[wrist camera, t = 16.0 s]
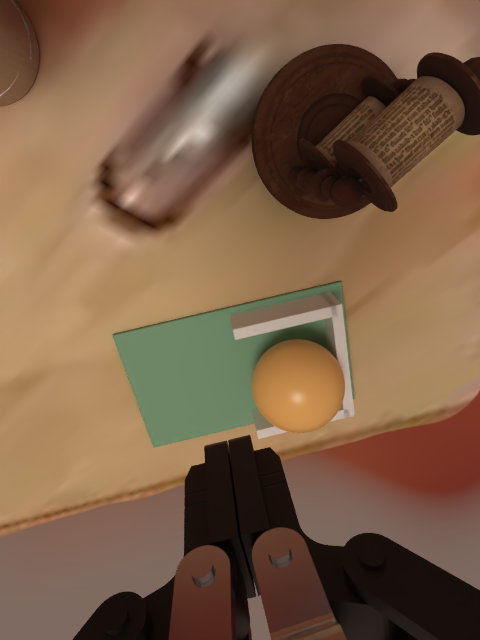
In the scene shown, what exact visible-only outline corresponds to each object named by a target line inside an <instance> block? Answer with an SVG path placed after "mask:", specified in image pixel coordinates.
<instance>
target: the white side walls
mask: <svg viewBox="0 0 480 640" xmlns="http://www.w3.org/2000/svg"><path fill="white" fill-rule="evenodd" d="M229 316H230V320H231V324H232V329H233V333H234V337H235V340H237V339H242V338H246V337H250V336H254V335H259V334H263V333H267V332H271V331H275V330H280V329H284V328H288V327H292V326H297V325H301V324H305V323H309V322H314V321H318V320H322V319H323V322H324V329H325V337H326V344H327V350H328V351H329V352H330V353H331V354H332V355H333V356H334V357H335V358H336V360H337V361H338V363H339V365H340V367H341V369H342V372H343V375H344V380H345V395H344V399H343V402H342V405H341V407H340V409H339V411H338V412H337V414H336V415H335V416H334V418H333V419H332V420H331V421H334V420H338V419H343V418H347V417H351V416H355V414H354V406H353V397H352V388H351V379H350V370H349V361H348V352H347V343H346V334H345V325H344V317H343V308H342V303H341V302H340V301H339V300H338V299H337V298H336V297H335V296H334V295H333V294H332V293H331V292H325V293H321V294H317V295H313V296H308V297H304V298H300V299H296V300H291V301H287V302H283V303H279V304H274V305H270V306H266V307H262V308H257V309H253V310H249V311H244V312H240V313H236V314H232V315H229ZM252 414H253V418H254V422H255V427H256V431H257V435H258V439H260V438H264V437H268V436H272V435H276V434H281V433H285V432H287V431H284V430H281V429H279V428H277V427H275V426H274V425H272V424H271V423H269V422H268V421H267V420H266V419H265V418H264V417H263V416H262V414H261V413H260V412H259V410H258V409H256V410H252Z"/></svg>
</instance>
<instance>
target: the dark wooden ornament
mask: <svg viewBox="0 0 480 640" xmlns="http://www.w3.org/2000/svg"><path fill="white" fill-rule="evenodd" d="M455 130H457V131H459V132H461V133H463V134H467V135H479V134H480V57H476V58H471V59H469V60H468V61H466V62H464V63H462V62H461V61H459V60H458V59H456V58H454V57H452V56H449V55H446V54H443V53H429V54H427V55H425V56H424V57H423V58H422V59H421V60H420V62H419V64H418V67H417V79H410V80H407V79H399V80H398V79H397V78H396V76H395V75H394V73H393V72H392V71H391V69H390V68H389V67H388V66H387V65H386V64H385V63H384V62H383V61H382V60H381V59H379V58H378V57H377V56H375V55H374V54H372V53H370V52H368V51H366V50H364V49H361V48H359V47H355V46H351V45H344V44H332V45H325V46H320V47H317V48H314V49H311V50H309V51H306V52H304V53H302V54H301V55H299V56H297V57H296V58H294V59H293V60H291V61H290V62H289V63H288V64H286V65H285V66H284V67H283V68H282V69H281V70H280V71H279V72H278V73H277V74H276V75H275V76H274V77H273V79H272V80H271V81H270V83H269V84H268V86H267V87H266V89H265V91H264V92H263V94H262V96H261V99H260V101H259V103H258V106H257V109H256V112H255V116H254V121H253V127H252V151H253V157H254V161H255V165H256V168H257V171H258V173H259V176H260V178H261V180H262V182H263V183H264V185H265V186H266V188H267V189H268V191H269V192H270V193H271V194H272V195H273V196H274V197H275V199H277V200H278V201H279V202H280V203H281V204H283V205H284V206H286V207H287V208H289V209H290V210H292V211H294V212H296V213H298V214H301V215H304V216H307V217H311V218H318V219H331V218H338V217H342V216H346V215H349V214H352V213H354V212H356V211H358V210H360V209H362V208H364V207H365V206H367V205H368V204H370V203H373V204H374V205H375V206H377V207H378V208H380V209H382V210H384V211H389V212H393V211H395V210H396V209H397V201H396V198H395V196H394V194H393V192H392V190H391V187H392V186H393V185H394V184H395V183H396V182H397V181H399V180H400V179H401V178H402V177H403V176H404V175H405V174H406V173H408V172H409V171H410V170H411V169H412V168H413V167H414V166H416V165H417V164H418V163H419V162H420V161H421V160H422V159H424V158H425V157H426V156H427V155H428V154H429V153H430V152H431V151H433V150H434V149H435V148H436V147H437V146H438V145H439V144H441V143H442V142H443V141H444V140H445V139H446V138H447V137H449V136H450V135H451V134H452V133H453V132H454V131H455Z"/></svg>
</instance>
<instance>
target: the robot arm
mask: <svg viewBox="0 0 480 640" xmlns="http://www.w3.org/2000/svg"><path fill="white" fill-rule="evenodd" d="M38 66H39V47H38V43H37V39H36V35H35V32H34V29H33V27H32V25H31V23H30V20H29V19H28V17H27V16H26V14H25V13H24V11H23V9H22V8H21V7H20V6H19V5H18V3H17V2H16V1H15V0H0V106H4V105H9V104H11V103H13V102H15V101H17V100H19V99H20V98H22V97H23V96H24V95H25V94H26V93H27V92H28V91H29V89H30V88H31V86H32V85H33V83H34V81H35V78H36V75H37V73H38ZM228 443H229V446H228ZM228 443H227V441H223V442H219V443H215V444H211V445H206V446H205V447H204V451H205V463H203V464H199V465H195V466H191V468H190V470H189V473H188V475H187V477H186V479H185V519H184V523H185V524H184V558H183V559H182V560H181V562H180V563H179V565H178V567H177V570H176V574H175V576H174V577H173V578H172V579H171V580H170V581H169V582H168V583H167V584H166V585H164V586H163V587H161V588H160V589H158V590H156V591H155V592H153V593H152V594H150V595H148V596H146V597H145V598H143V599H142V597H141V596H139V595H138V594H136V593H134V592H121V593H118V594H115V595H113V596H112V597H110V598H108V599H107V600H106V601H104V602H103V603H102V604H101V605H100V606H99V607H98V608H97V610H96V611H95V612H94V613H93V615H92V616H91V617H90V618H89V620H88V621H87V622H86V624H85V625H84V626H83V627H82V628H81V630H80V631H79V632H78V634H77V635H76V636H75V637H74V639H73V640H252V633H251V627H250V616H249V608H248V600H247V599H248V598H252V597H256V593H255V586H254V582H255V585H256V589H257V592H258V596H259V595H261V599H262V603H263V607H264V611H265V615H266V619H267V623H268V628H269V632H270V636H271V640H480V590H478V589H477V588H474V587H473V586H471V585H469V584H468V583H466V582H464V581H462V580H461V579H459V578H457V577H455V576H454V575H452V574H450V573H448V572H447V571H445V570H443V569H441V568H440V567H438V566H436V565H434V564H432V563H430V562H429V561H427V560H425V559H424V558H422V557H420V556H418V555H417V554H415V553H413V552H411V551H409V550H408V549H406V548H404V547H402V546H401V545H399V544H397V543H395V542H394V541H392V540H390V539H388V538H386V537H384V536H382V535H379V534H374V533H363V534H359V535H356V536H354V537H353V538H351V539H350V540H349V541H348V542H347V543H346V545H345V546H344V547H343V546H329V545H323V544H319V543H317V542H315V541H313V540H312V539H310V538H309V537H307V536H306V535H305V534H304V532H303V531H302V529H301V528H300V525H299V522H298V519H297V515H296V512H295V508H294V505H293V502H292V498H291V495H290V491H289V488H288V485H287V481H286V478H285V474H284V471H283V468H282V464H281V460H280V457H279V456H278V455H277V454H276V453H275V452H274V451H273V450H272V449H271V448H270V447H269V448H265V449H260V450H256V451H254V449H253V444H252V440H251V436H250V435H247V436H243V437H239V438H235V439H231V440H228ZM253 579H254V580H253Z"/></svg>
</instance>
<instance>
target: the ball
mask: <svg viewBox="0 0 480 640" xmlns="http://www.w3.org/2000/svg"><path fill="white" fill-rule="evenodd" d="M251 385H252V395H253V399H254V402H255V404H256V406H257V408H258V410H259V412H260V413H261V414H262V416H263V417H264V418H265V419H266V420H267V421H268V422H269V423H271V424H272V425H274V426H275V427H277V428H279V429H281V430H284V431H287V432H292V433H306V432H311V431H314V430H317V429H319V428H321V427H323V426H325V425H326V424H327V423H329V422H330V421H331V420H332V419H333V418H334V416H335V415H336V414H337V412H338V411H339V409H340V407H341V405H342V402H343V399H344V395H345V380H344V375H343V372H342V369H341V367H340V365H339V363H338V361H337V360H336V358H335V357H334V356H333V355H332V354H331V353H330V352H329V351H328V350H327V349H326V348H324V347H323V346H321V345H319V344H317V343H315V342H312V341H308V340H303V339H292V340H286V341H283V342H280V343H278V344H276V345H274V346H272V347H271V348H269V349H268V350H267V351H266V352H265V353H264V354H263V355H262V356H261V358H260V359H259V361H258V362H257V364H256V366H255V369H254V371H253V376H252V383H251Z"/></svg>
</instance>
